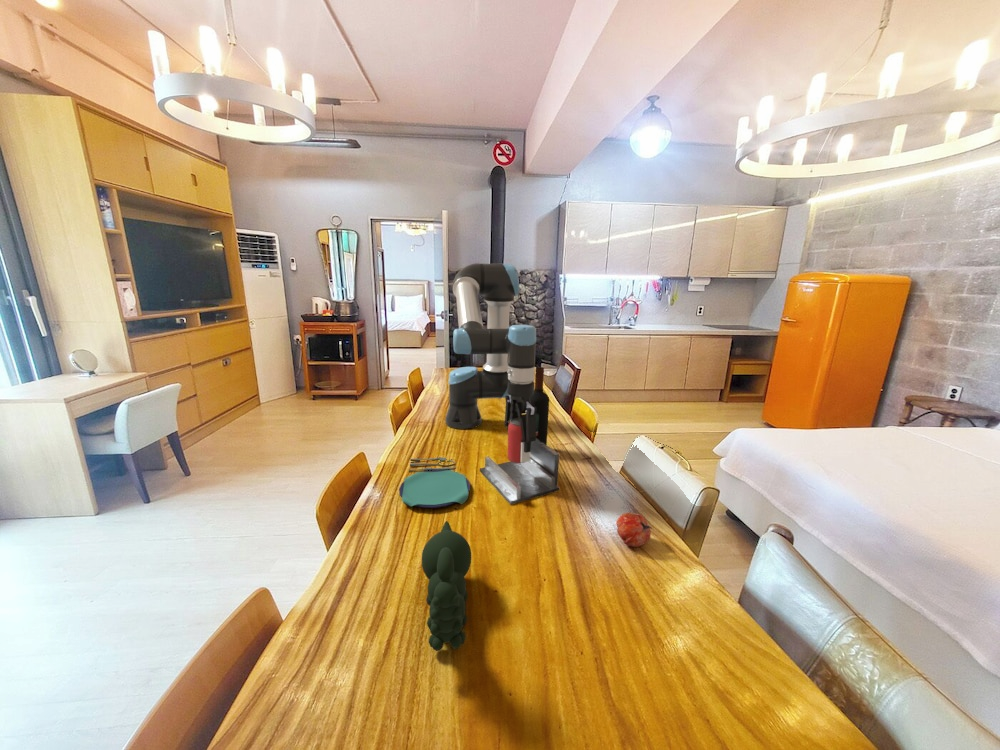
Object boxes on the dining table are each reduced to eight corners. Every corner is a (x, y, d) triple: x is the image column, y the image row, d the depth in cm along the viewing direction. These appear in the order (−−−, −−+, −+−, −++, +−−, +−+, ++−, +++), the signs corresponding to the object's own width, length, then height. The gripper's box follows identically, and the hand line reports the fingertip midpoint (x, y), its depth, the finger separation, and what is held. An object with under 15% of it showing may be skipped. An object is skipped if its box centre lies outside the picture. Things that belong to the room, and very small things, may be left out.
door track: (479, 471, 116) (479, 438, 114) (523, 461, 123) (524, 430, 121) (510, 504, 99) (511, 467, 96) (559, 490, 106) (561, 455, 104)
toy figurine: (478, 674, 58) (468, 550, 81) (479, 582, 52) (469, 477, 75) (416, 682, 56) (425, 554, 80) (410, 588, 50) (421, 479, 74)
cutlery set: (395, 516, 94) (395, 508, 93) (404, 462, 122) (404, 456, 122) (473, 510, 97) (473, 502, 97) (464, 459, 126) (464, 453, 125)
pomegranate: (609, 550, 86) (639, 549, 78) (601, 516, 89) (629, 512, 81) (634, 544, 89) (665, 543, 81) (625, 512, 92) (654, 508, 84)
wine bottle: (547, 455, 128) (553, 370, 121) (526, 455, 128) (530, 370, 121) (544, 446, 135) (549, 365, 128) (523, 445, 135) (527, 365, 128)
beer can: (505, 463, 107) (506, 424, 104) (509, 453, 113) (510, 416, 110) (528, 465, 106) (529, 426, 103) (530, 455, 112) (532, 418, 109)
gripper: (493, 374, 110) (492, 445, 116) (527, 391, 94) (524, 473, 99) (515, 372, 114) (513, 441, 119) (552, 387, 97) (548, 467, 103)
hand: (518, 456), depth 109 cm, fingers closed on beer can, 7 cm apart
